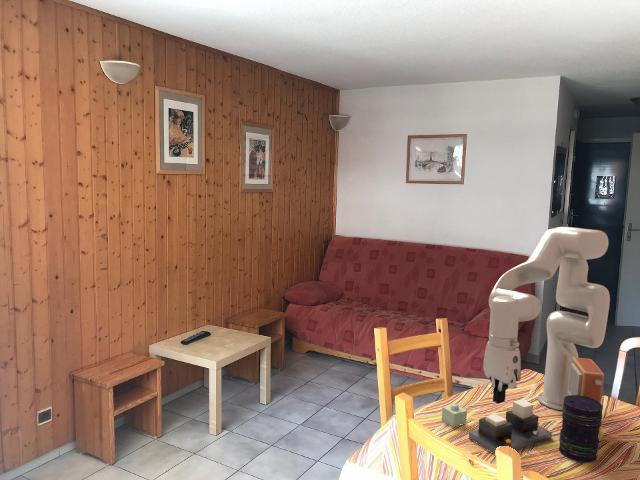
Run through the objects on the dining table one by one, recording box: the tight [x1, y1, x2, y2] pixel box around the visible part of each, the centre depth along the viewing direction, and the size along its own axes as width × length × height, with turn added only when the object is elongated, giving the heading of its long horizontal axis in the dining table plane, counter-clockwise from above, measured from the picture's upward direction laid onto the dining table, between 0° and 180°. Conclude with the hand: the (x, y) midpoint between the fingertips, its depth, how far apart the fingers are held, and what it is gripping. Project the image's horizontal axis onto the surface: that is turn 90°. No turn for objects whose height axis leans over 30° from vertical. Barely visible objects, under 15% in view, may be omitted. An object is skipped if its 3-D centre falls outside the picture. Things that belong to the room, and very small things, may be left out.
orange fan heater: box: [568, 357, 605, 404], centre depth 158 cm, size 21×7×15 cm
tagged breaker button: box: [485, 413, 506, 427], centre depth 152 cm, size 4×4×5 cm
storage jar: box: [558, 395, 604, 464], centre depth 147 cm, size 10×10×15 cm
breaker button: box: [511, 399, 534, 419], centre depth 157 cm, size 4×4×5 cm
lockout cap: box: [441, 402, 468, 428], centre depth 164 cm, size 5×5×6 cm
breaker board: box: [468, 409, 553, 455], centre depth 154 cm, size 22×11×6 cm, turn 119°
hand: (498, 401), depth 152 cm, fingers closed
